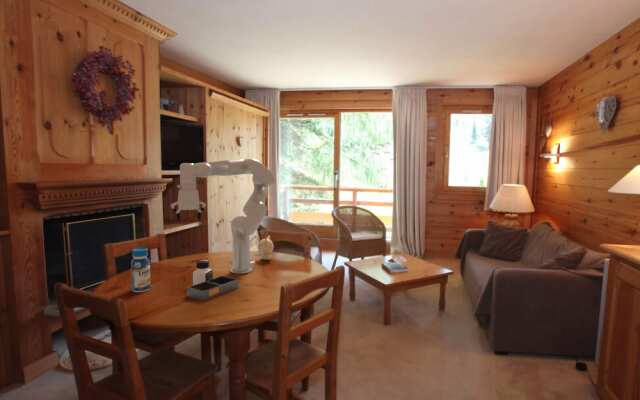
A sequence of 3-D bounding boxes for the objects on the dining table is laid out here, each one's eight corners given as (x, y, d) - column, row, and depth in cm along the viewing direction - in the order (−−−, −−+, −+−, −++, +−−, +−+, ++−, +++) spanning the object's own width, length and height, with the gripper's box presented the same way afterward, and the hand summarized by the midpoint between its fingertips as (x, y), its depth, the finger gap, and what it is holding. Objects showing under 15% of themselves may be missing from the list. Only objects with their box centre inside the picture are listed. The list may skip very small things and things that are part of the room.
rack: (222, 283, 188) (222, 275, 188) (238, 287, 182) (238, 279, 182) (186, 296, 169) (186, 287, 169) (204, 301, 163) (204, 292, 163)
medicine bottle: (205, 286, 182) (205, 263, 181) (192, 285, 184) (192, 262, 183) (212, 282, 189) (212, 259, 188) (200, 281, 191) (199, 258, 190)
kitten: (261, 256, 245) (261, 234, 243) (276, 256, 244) (276, 234, 242) (255, 262, 230) (255, 238, 229) (270, 262, 229) (270, 239, 228)
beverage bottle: (141, 286, 183) (140, 246, 181) (154, 288, 180) (153, 248, 178) (127, 291, 175) (125, 250, 173) (141, 293, 172) (139, 251, 170)
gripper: (170, 188, 180) (171, 222, 182) (206, 187, 187) (207, 220, 189) (169, 187, 187) (170, 220, 189) (204, 186, 194) (205, 218, 196)
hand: (188, 220), depth 189 cm, fingers open, 9 cm apart
